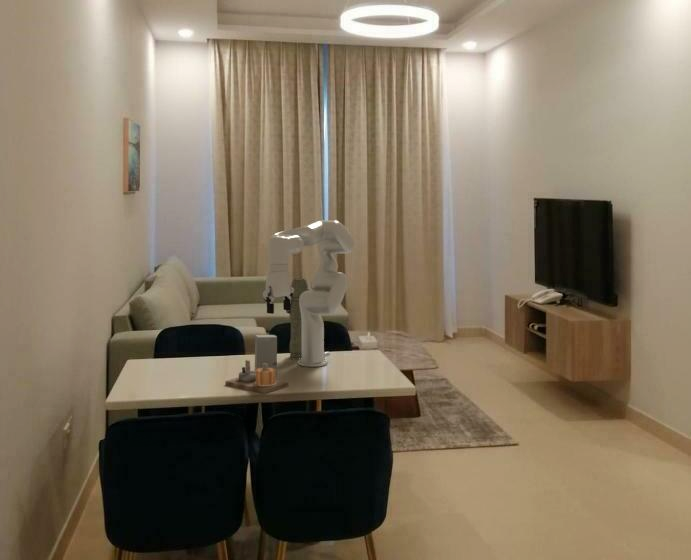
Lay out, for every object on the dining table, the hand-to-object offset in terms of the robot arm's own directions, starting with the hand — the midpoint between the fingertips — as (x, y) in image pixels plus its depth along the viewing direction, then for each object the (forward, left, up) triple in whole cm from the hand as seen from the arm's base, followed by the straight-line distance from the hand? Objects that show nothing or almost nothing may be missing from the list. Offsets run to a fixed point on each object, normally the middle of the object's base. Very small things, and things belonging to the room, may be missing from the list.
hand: (278, 311), depth 269 cm
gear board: (+14, +1, -26) cm, 30 cm away
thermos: (-33, -17, -26) cm, 46 cm away
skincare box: (-1, -8, -26) cm, 28 cm away
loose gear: (+14, +6, -25) cm, 29 cm away
